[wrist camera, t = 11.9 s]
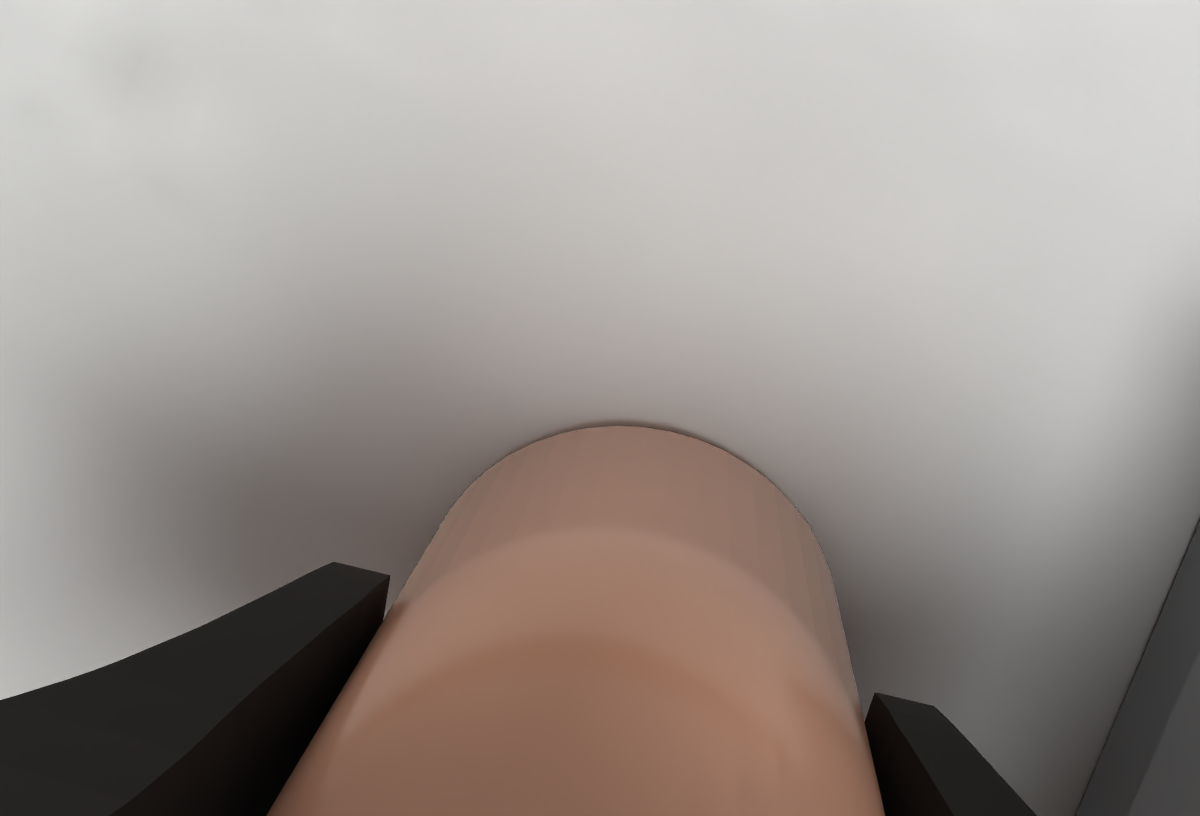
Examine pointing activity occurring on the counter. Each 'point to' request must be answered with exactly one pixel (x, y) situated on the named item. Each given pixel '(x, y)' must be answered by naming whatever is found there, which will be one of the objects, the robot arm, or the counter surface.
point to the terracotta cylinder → (603, 652)
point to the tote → (1158, 717)
